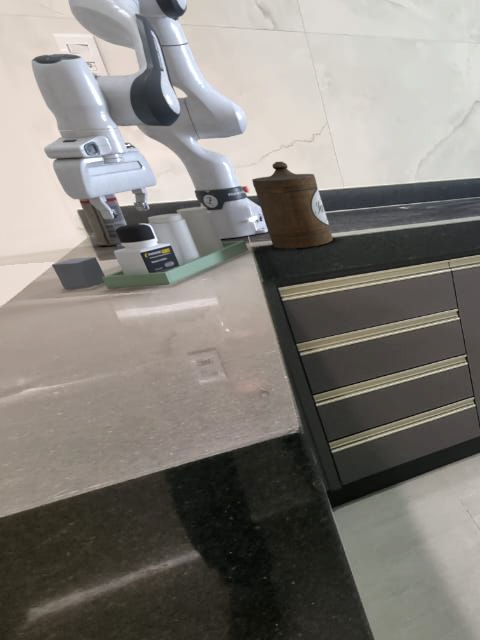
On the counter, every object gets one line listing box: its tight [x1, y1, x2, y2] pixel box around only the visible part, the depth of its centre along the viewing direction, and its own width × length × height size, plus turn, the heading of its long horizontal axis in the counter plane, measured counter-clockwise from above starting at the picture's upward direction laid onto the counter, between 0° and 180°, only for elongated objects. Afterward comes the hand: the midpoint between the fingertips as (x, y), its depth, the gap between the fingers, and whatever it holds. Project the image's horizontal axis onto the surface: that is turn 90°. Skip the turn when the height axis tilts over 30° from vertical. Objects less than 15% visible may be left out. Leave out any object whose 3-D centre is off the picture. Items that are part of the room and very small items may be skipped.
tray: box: [102, 240, 249, 289], centre depth 128 cm, size 32×13×3 cm, turn 7°
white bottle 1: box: [147, 213, 200, 265], centre depth 126 cm, size 7×7×12 cm
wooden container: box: [251, 161, 334, 250], centre depth 145 cm, size 15×15×22 cm
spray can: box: [78, 194, 128, 246], centre depth 158 cm, size 8×8×20 cm
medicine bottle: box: [113, 223, 180, 275], centre depth 117 cm, size 7×7×12 cm
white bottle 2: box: [176, 206, 224, 257], centre depth 135 cm, size 7×7×12 cm
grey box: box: [51, 256, 106, 290], centre depth 116 cm, size 5×5×6 cm
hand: (128, 214), depth 113 cm, fingers open, 8 cm apart
